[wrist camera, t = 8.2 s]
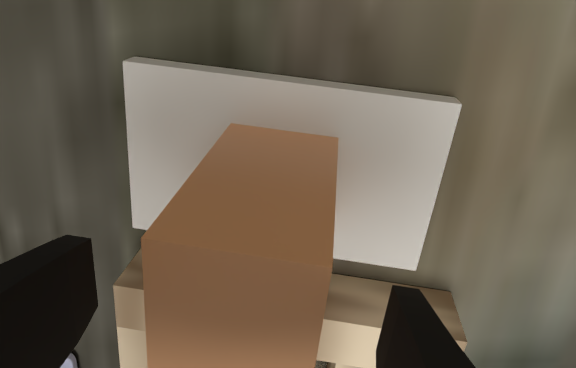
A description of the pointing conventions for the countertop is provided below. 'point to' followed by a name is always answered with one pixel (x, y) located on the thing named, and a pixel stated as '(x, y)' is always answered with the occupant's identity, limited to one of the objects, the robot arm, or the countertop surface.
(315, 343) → the plug
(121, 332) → the beige holed block
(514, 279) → the countertop surface
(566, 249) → the countertop surface
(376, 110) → the mat
